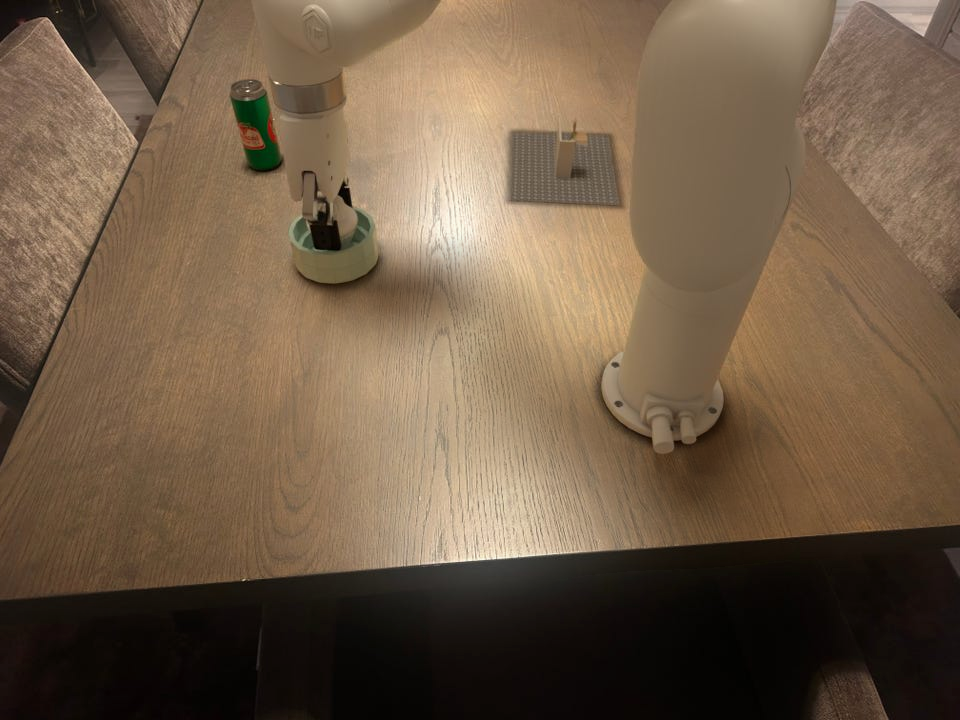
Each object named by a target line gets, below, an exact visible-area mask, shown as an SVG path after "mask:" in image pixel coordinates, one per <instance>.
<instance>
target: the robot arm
mask: <svg viewBox="0 0 960 720" xmlns="http://www.w3.org/2000/svg"><path fill="white" fill-rule="evenodd" d="M250 1H251V5H252V6H251V7H252V10H253V14H254V19H255V24H256V28H257V32H258V36H259V42H260V46H261V51H262V56H263V61H264V64H265V69H266V73H267V77H268V83H269V87H270V90H271V95H272V99H273V105H274V109H275V110H276V111H277V112H278V113H279V124H280V125H279V126H280V138H281V147H282V153H283V154H282V155H283V160H284V167H285V172H286V178H287V183H288V188H289V195H290V198H291V199H292V201H293V202H296V203H297V202H301V201H302V206H301V207H302V208H301V209H302V211H301V214H302V216H303V218H305V219H306V220H307V222H308V224H309V226H310V231H311V235H312V240H313V245H314V248H315V249H316V250H330V251H339V250H340V249H341V240H340V235H339V229H338V223H337V220H334V215H333V200H334V199H335V198H336V196H337V195H338V196H340V197H341V198H342V199H343V201H344V203H345V204H346V205H347V206H349V207H351V208H352V209H353V207H352V206H353V202H352V196H351V190H350V189H351V188H350V187H349V184H350V180H349V175H348V170H349V166H350V160H351V154H350V153H351V152H350V142H349V135H348V131H347V124H346V119H345V113H344V109H343V108H344V107H345V106H346V105H347V102H348V95H347V89H346V81H345V75H344V69H345V68H351V67H355V66H357V65H361V64H362V63H364V62H365V61H367V60H369V59H370V58H372V57H374V56H375V55H377V54H379V53H380V52H382V51H383V50H385V49H386V48H387V47H389V46H391V45H393V44H394V43H396V42H398V41H400V40H401V39H403V38H405V37H407V36H408V35H410V34H412V33H414V32H416V31H417V30H418V29H419V28H420V27H422V26H423V25H424V24H425V22H427V20H429V18H430V17H431V16H432V15H433V13H434V12H435V11H436V9H437V7H438V6H439V4H440V3H441V2H442V0H250ZM837 1H838V0H670V1H669V3H667V5H666V6H665V8H664V9H663V11H662V12H661V13H660V15H659V17H658V18H657V19H656V21H655V23H654V25H653V26H652V29H651V30H650V33H649V34H648V37H647V39H646V43H645V45H644V49H643V52H642V56H641V60H640V65H639V68H638V74H637V79H636V89H635V100H634V101H635V102H634V103H635V104H634V120H633V137H632V138H633V139H632V156H631V174H630V175H631V176H630V192H629V227H630V232H631V237H632V241H633V244H634V247H635V249H636V251H637V253H638V255H639V257H640V259H641V261H642V262H643V263H644V265H645V267H644V270H643V274H642V278H641V281H640V285H639V290H638V293H637V297H636V302H635V305H634V309H633V314H632V317H631V320H630V321H631V322H630V326H629V330H628V334H627V338H626V342H625V346H624V350H623V351H622V350H621V351H620V352H618V353H617V354H616V355H614V356H613V357H612V358H611V359H610V360H609V361H608V363H607V364H606V366H605V367H604V370H603V374H602V378H601V384H600V385H601V386H600V389H601V394H602V398H603V401H604V403H605V405H606V407H607V408H608V410H609V411H610V413H611V414H612V415H613V416H614V418H616V419H617V420H618V421H619V422H620V423H621V424H623V425H624V426H626V427H627V428H628V429H630V430H631V431H634V432H636V433H638V434H640V435H643V436H645V437H648V438H651V440H652V449H653V451H654V452H655V453H657V454H661V455H666V454H667V455H668V454H670V453H672V452H673V451H674V450H675V441H681V442H682V443H683V444H684V445H685V444H686V445H691V444H694V443H696V441H697V437H699V436H701V435H703V434H704V433H706V432H708V431H709V430H710V429H711V428H712V427H714V425H715V424H716V422H717V421H718V419H719V418H720V415H721V414H722V410H723V406H724V403H725V399H724V391H723V388H722V385H721V382H720V381H719V376H720V374H721V371H722V369H723V367H724V364H725V362H726V359H727V357H728V355H729V352H730V350H731V348H732V345H733V342H734V340H735V338H736V335H737V333H738V331H739V328H740V325H741V323H742V321H743V319H744V316H745V313H746V311H747V308H748V306H749V304H750V302H751V300H752V297H753V295H754V294H755V290H756V288H757V285H758V283H759V281H760V279H761V276H762V275H763V274H762V273H763V271H764V269H765V266H766V264H767V262H768V259H769V256H770V254H771V252H772V250H773V247H774V246H775V243H776V240H777V238H778V235H779V233H780V231H781V229H782V227H783V224H784V222H785V220H786V217H787V215H788V213H789V210H790V208H791V207H792V204H793V202H794V199H795V197H796V195H797V193H798V190H799V188H800V185H801V183H802V180H803V177H804V173H805V168H806V161H807V148H806V147H807V146H806V140H805V137H804V132H803V131H802V128H801V126H800V124H799V123H798V121H797V117H798V113H799V108H800V105H801V102H802V97H803V94H804V91H805V88H806V86H807V84H808V82H809V80H810V78H811V77H812V75H813V73H814V72H815V70H816V68H817V65H818V64H819V62H820V60H821V58H822V56H823V55H824V52H825V50H826V48H827V46H828V43H829V41H830V39H831V35H832V31H833V26H834V21H835V15H836V8H837ZM318 192H320V193H321V195H318ZM322 195H326V196H322ZM317 203H326V213H324V212H323V211H319V210H318V208H317Z"/></svg>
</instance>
